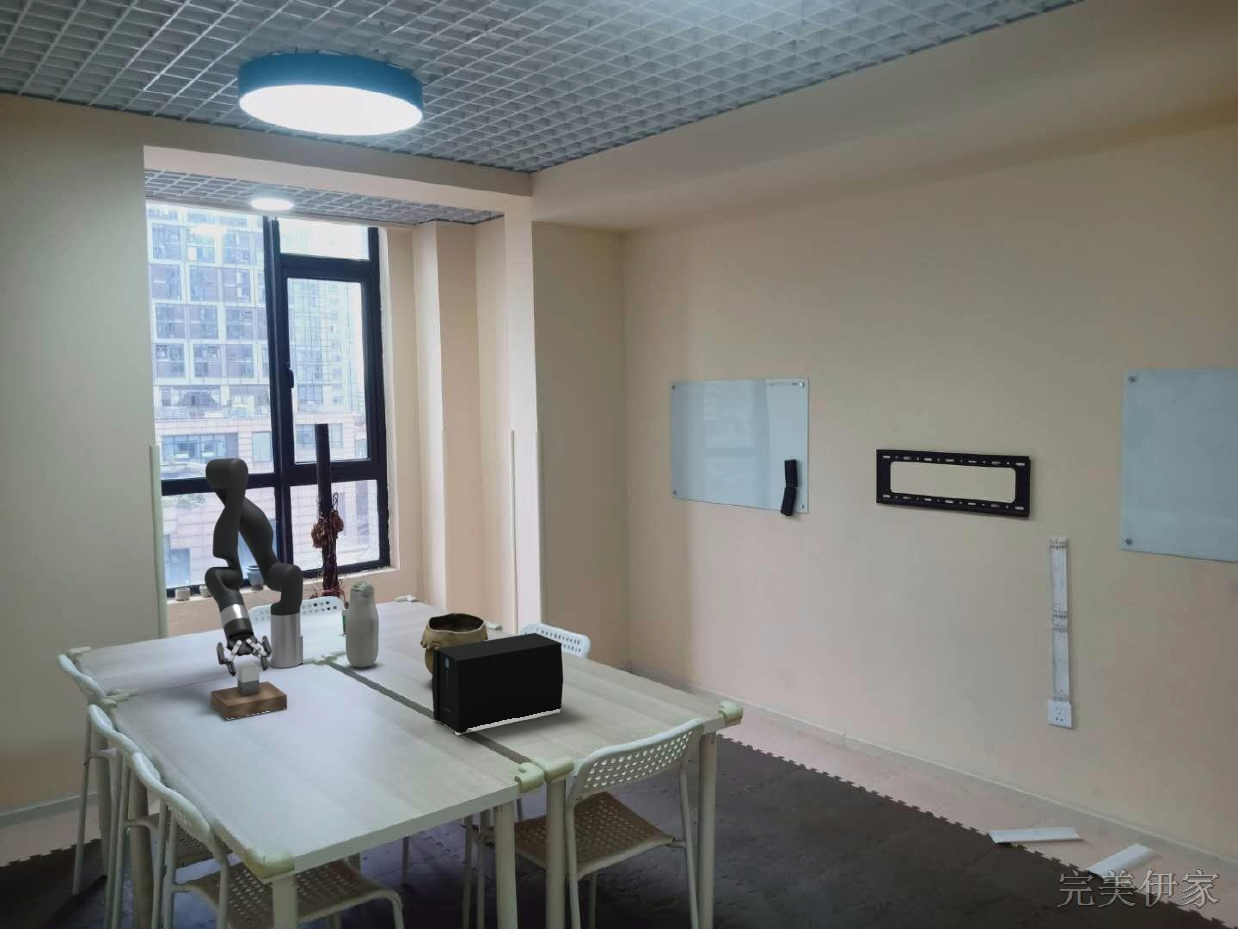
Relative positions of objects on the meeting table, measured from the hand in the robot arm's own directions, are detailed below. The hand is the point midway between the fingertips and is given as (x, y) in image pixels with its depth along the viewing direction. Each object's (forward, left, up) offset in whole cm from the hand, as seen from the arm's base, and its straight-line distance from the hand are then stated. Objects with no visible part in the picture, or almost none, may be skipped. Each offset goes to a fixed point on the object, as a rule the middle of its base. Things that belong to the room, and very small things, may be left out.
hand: (250, 672), depth 268 cm
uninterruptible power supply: (-53, +48, -11) cm, 72 cm away
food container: (-58, -62, -11) cm, 86 cm away
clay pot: (-58, +13, -10) cm, 60 cm away
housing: (0, -1, -6) cm, 6 cm away
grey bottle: (-42, -20, -10) cm, 48 cm away
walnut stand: (0, -1, -10) cm, 10 cm away
